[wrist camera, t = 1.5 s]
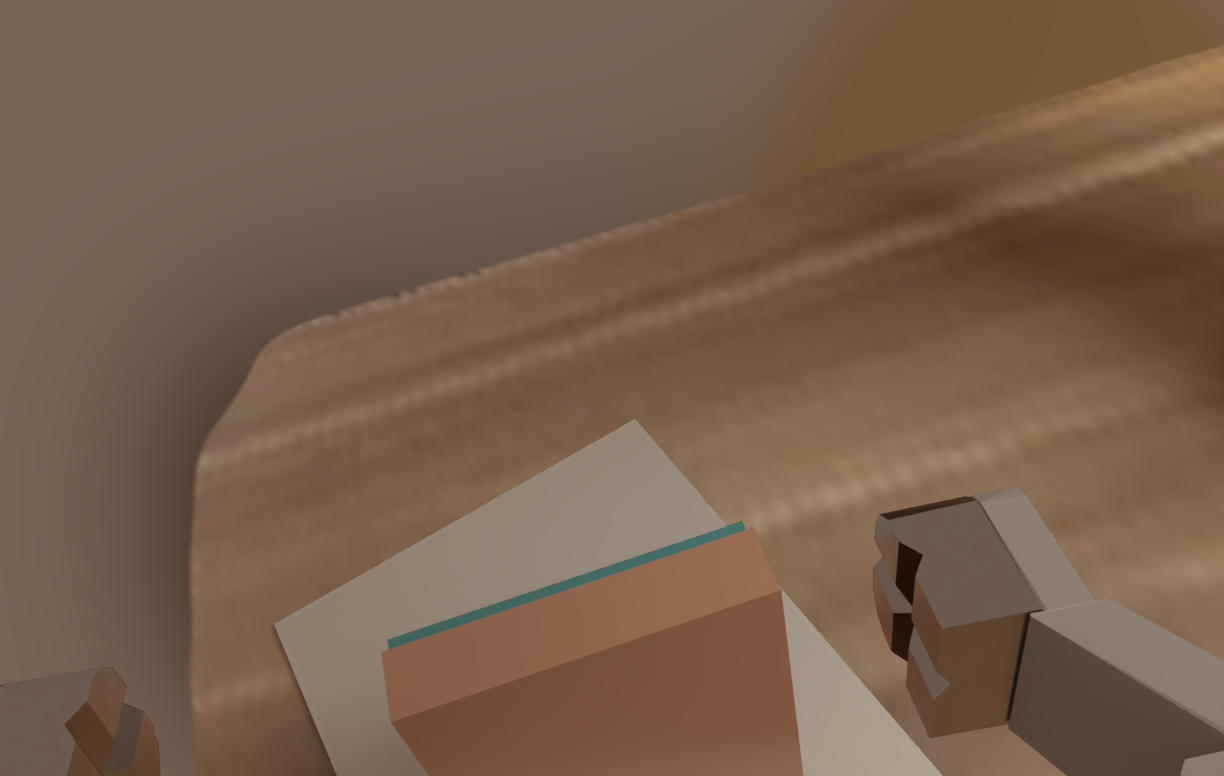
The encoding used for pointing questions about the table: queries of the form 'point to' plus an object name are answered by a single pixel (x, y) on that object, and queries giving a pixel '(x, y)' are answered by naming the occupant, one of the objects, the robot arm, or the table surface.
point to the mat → (538, 557)
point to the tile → (610, 673)
